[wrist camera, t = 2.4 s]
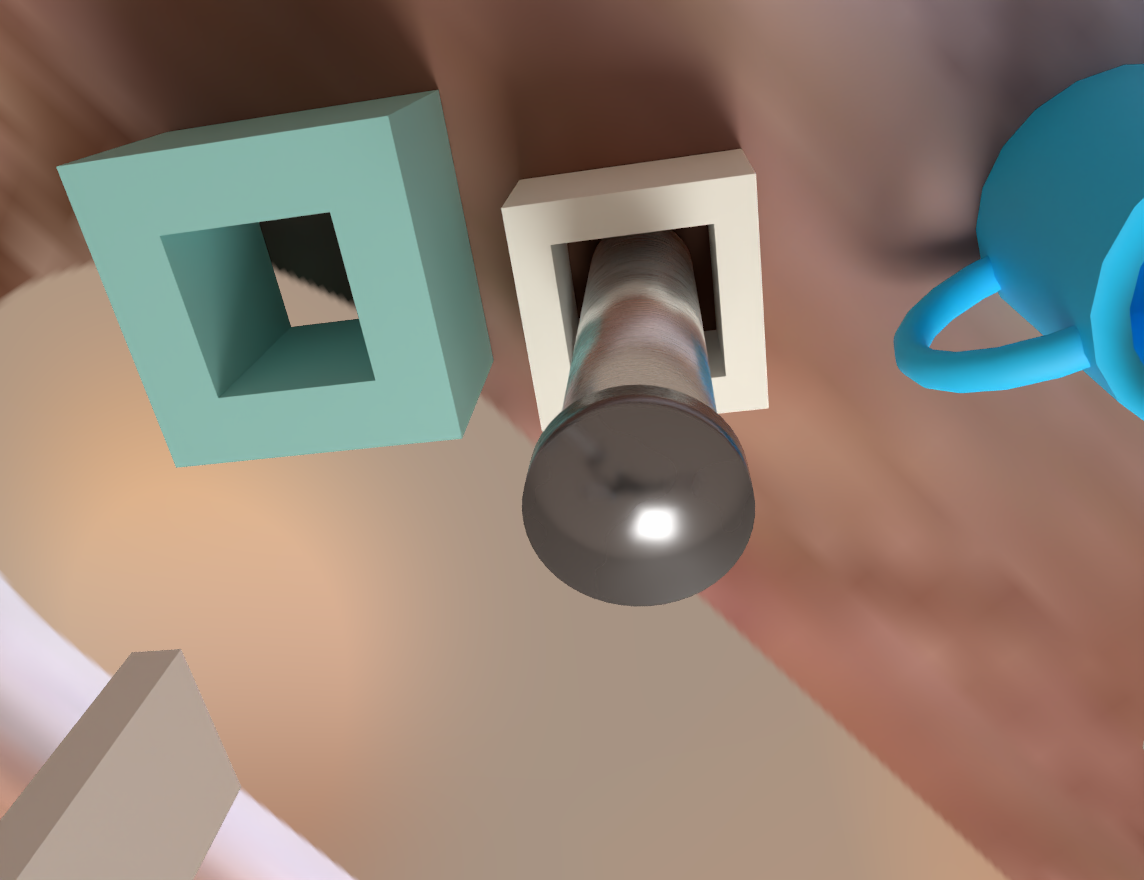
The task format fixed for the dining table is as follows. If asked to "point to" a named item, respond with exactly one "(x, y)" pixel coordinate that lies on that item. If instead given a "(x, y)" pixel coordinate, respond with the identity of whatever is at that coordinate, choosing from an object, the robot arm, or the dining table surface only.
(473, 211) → the dining table surface
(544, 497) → the pin
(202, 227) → the socket
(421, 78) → the dining table surface
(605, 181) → the mount
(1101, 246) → the mug
